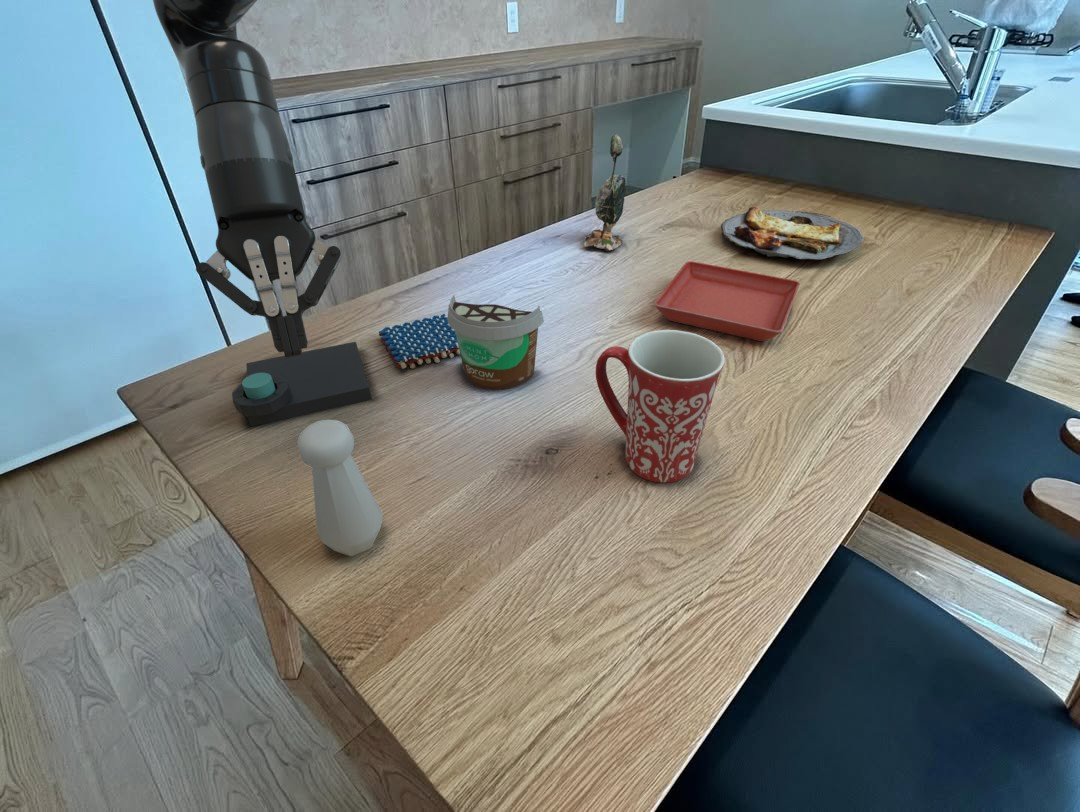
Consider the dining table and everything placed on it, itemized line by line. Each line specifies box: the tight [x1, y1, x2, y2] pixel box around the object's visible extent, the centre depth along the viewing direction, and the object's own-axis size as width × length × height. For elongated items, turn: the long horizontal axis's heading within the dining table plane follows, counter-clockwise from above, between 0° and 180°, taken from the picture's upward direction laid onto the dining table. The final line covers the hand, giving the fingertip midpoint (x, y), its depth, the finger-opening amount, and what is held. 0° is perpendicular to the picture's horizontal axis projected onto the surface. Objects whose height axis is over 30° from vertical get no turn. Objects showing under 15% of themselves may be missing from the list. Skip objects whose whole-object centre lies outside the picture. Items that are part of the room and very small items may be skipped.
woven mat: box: [378, 313, 460, 370], centre depth 82 cm, size 10×11×2 cm
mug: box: [595, 329, 726, 483], centre depth 60 cm, size 13×9×14 cm
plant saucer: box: [653, 260, 801, 342], centre depth 89 cm, size 18×18×3 cm
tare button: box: [241, 373, 275, 400], centre depth 68 cm, size 3×3×2 cm
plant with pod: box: [583, 133, 628, 252], centre depth 107 cm, size 8×11×20 cm
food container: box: [447, 294, 545, 391], centre depth 73 cm, size 12×6×10 cm, turn 73°
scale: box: [231, 341, 373, 427], centre depth 73 cm, size 15×13×4 cm
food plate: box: [720, 206, 865, 260], centre depth 111 cm, size 25×23×4 cm
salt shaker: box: [296, 419, 384, 557], centre depth 51 cm, size 6×6×13 cm
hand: (293, 355), depth 55 cm, fingers closed
